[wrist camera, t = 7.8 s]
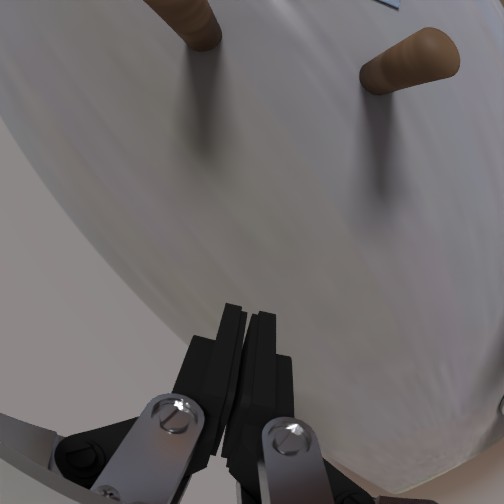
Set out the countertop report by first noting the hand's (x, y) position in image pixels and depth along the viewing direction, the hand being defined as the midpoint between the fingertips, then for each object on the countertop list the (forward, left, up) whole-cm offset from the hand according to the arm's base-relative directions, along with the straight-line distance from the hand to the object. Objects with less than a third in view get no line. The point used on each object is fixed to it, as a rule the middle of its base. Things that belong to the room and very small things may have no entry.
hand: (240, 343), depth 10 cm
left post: (+7, -13, -13) cm, 20 cm away
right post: (-6, -13, -13) cm, 20 cm away
